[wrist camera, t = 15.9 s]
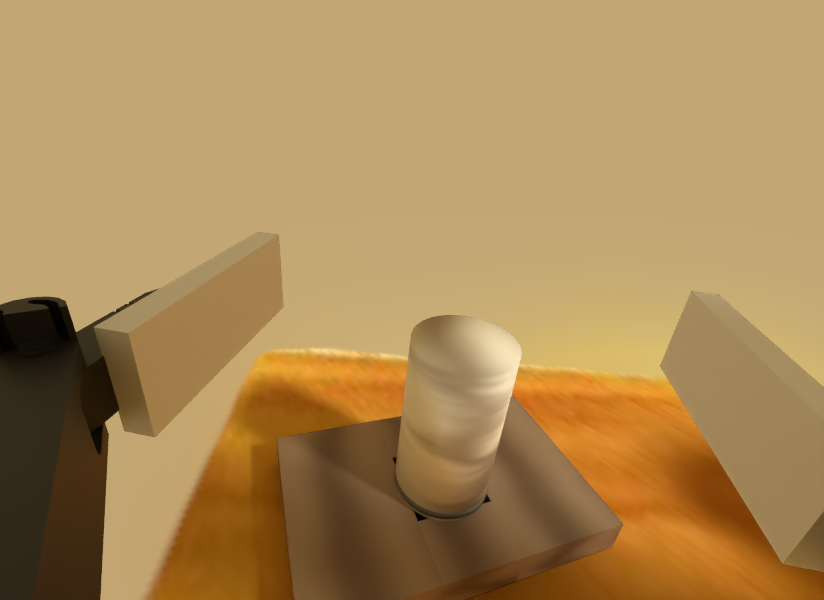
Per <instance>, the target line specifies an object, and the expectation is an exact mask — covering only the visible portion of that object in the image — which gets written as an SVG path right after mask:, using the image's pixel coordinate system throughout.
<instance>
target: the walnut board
mask: <svg viewBox="0 0 824 600" xmlns="http://www.w3.org/2000/svg"><path fill="white" fill-rule="evenodd" d="M401 417H402V416H400V417H395V418H389V419H383V420H378V421H372V422H367V423H361V424H355V425H350V426H344V427H338V428H333V429H327V430H321V431H316V432H310V433H304V434H299V435H293V436H287V437H282V438H277V450H278V465H279V474H280V483H281V492H282V501H283V510H284V519H285V529H286V538H287V547H288V556H289V565H290V574H291V583H292V593H293V600H466V599H469V598H472V597H474V596H477V595H480V594H483V593H485V592H488V591H491V590H494V589H497V588H499V587H502V586H505V585H508V584H510V583H513V582H516V581H519V580H521V579H524V578H527V577H530V576H533V575H535V574H538V573H541V572H544V571H546V570H549V569H552V568H555V567H558V566H560V565H563V564H566V563H569V562H571V561H574V560H577V559H580V558H583V557H585V556H588V555H591V554H594V553H596V552H599V551H602V550H605V549H608V548H610V547H612V546H613V544H614V542H615V540H616V538H617V536H618V534H619V532H620V530H621V528H622V526H623V523H622V522H621V521H620V520H619V518H618V517H617V516H616V515H615V514H614V513H613V511H612V510H611V509H610V508H609V507H608V506H607V504H606V503H605V502H604V501H603V500H602V499H601V497H600V496H599V495H598V494H597V493H596V492H595V490H594V489H593V488H592V487H591V486H590V485H589V483H588V482H587V481H586V480H585V479H584V478H583V476H582V475H581V474H580V473H579V472H578V471H577V469H576V468H575V467H574V466H573V465H572V464H571V462H570V461H569V460H568V459H567V458H566V457H565V455H564V454H563V453H562V452H561V451H560V450H559V448H558V447H557V446H556V445H555V444H554V443H553V441H552V440H551V439H550V438H549V437H548V436H547V434H546V433H545V432H544V431H543V430H542V429H541V427H540V426H539V425H538V424H537V423H536V422H535V420H534V419H533V418H532V417H531V416H530V415H529V413H528V412H527V411H526V410H525V409H524V408H523V406H522V405H521V404H520V403H519V402H518V401H517V399H516V398H515V397H514V396H513V397H511V398H510V402H509V406H508V410H507V414H506V418H505V422H504V425H503V429H502V433H501V437H500V441H499V445H498V449H497V453H496V457H495V460H494V464H493V468H492V472H491V476H490V480H489V486H488V490H487V494H486V497H485V500H484V502H483V503H482V505H481V506H480V508H479V509H478V510H477V511H476V512H474V513H473V514H472V515H470V516H468V517H466V518H463V519H460V520H456V521H439V520H434V519H430V518H429V519H425V520H422V521H418V520H417V518H416V515H415V513H414V510H413V509H411V508H410V507H409V506H408V505H407V504H406V503H405V502H404V501H403V499H402V498H401V496H400V495H399V493H398V491H397V488H396V484H395V478H394V472H395V464H396V460H397V452H398V443H399V434H400V426H401Z"/></svg>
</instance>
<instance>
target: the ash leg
mask: <svg viewBox="0 0 824 600" xmlns="http://www.w3.org/2000/svg"><path fill="white" fill-rule="evenodd" d="M521 354H522V351H521V347H520V345H519V343H518V342H517V341H516V339H515V338H514V337H513V336H512V335H511V334H509V333H508V332H507V331H505V330H504V329H502V328H500V327H499V326H497V325H494V324H492V323H490V322H487V321H484V320H481V319H477V318H473V317H467V316H459V315H458V316H457V315H444V316H437V317H432V318H429V319H426V320H424V321H422V322H420V323H419V324H418V325H416V326H415V328H414V329H413V331H412V334H411V340H410V348H409V357H408V365H407V374H406V383H405V391H404V400H403V408H402V417H401V426H400V434H399V443H398V452H397V460H396V464H395V472H394V478H395V484H396V488H397V491H398V493H399V495H400V496H401V498H402V499H403V501H404V502H405V503H406V504H407V505H408V506H409V507H410V508H411V509H413V510H414V511H415V512H417V513H418V514H419V515H420V516H421V517H422V518H424V519H429V518H430V519H434V520H439V521H456V520H460V519H463V518H466V517H468V516H470V515H472V514H473V513H474V512H476V511H477V510H478V509H479V508H480V506H481V505H482V503H483V502H484V500H485V497H486V494H487V490H488V486H489V480H490V476H491V472H492V468H493V464H494V460H495V457H496V453H497V449H498V445H499V441H500V437H501V433H502V429H503V425H504V422H505V418H506V414H507V410H508V406H509V402H510V398H511V394H512V391H513V387H514V383H515V379H516V375H517V371H518V367H519V363H520V359H521V356H522V355H521Z"/></svg>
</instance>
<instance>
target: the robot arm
mask: <svg viewBox="0 0 824 600" xmlns="http://www.w3.org/2000/svg"><path fill="white" fill-rule="evenodd" d="M282 308H283V292H282V276H281V262H280V244H279V235H278V234H270V233H263V232H256V233H255V234H253V235H251V236H249V237H248V238H246V239H244V240H243V241H241V242H239V243H237V244H236V245H234V246H232V247H231V248H229V249H227V250H225V251H224V252H222V253H220V254H218V255H217V256H215V257H214V258H212V259H210V260H208V261H206V262H205V263H203V264H201V265H200V266H198V267H196V268H194V269H193V270H191V271H189V272H188V273H186V274H184V275H182V276H181V277H179V278H177V279H175V280H174V281H172V282H171V283H169V284H167V285H165V286H164V287H162V288H160V289H157V290H154V291H151V292H147V293H145V294H143V295H142V296H139V297H138V298H136V299H134V300H132V301H131V302H129V304H125V305H124V306H122V307H120V308H118V309H117V310H116V312H111V313H109V314H108V315H106V316H104V317H102V318H101V319H99V320H97V321H95V322H94V323H92V324H90V325H89V326H87V327H85V328H83V329H81V330H80V331H78V332H75V329H74V325H73V322H72V319H71V316H70V313H69V310H68V307H67V304H66V301H64V300H62V299H60V298H55V297H32V298H26V299H20V300H15V301H11V302H8V303H4V304H2V305H0V600H100V594H101V574H102V553H103V535H104V515H105V495H106V476H107V475H106V474H107V455H108V435H109V434H108V431H107V428H106V425H105V421H106V420H108V419H109V418H110V417H111V416H113V415H114V414H115V413H116V412H117V411H119V414H120V418H121V421H122V424H123V428H124V431H127V432H132V433H137V434H142V435H147V436H152V437H156V436H157V435H158V433H160V432H161V430H162V429H164V427H166V425H167V424H168V423H169V422H170V421H171V420H172V419H173V418H174V417H175V416H176V415H177V414H178V413H179V412H180V411H181V410H182V409H183V408H184V407H185V406H186V405H187V404H188V403H189V402H190V401H191V400H192V399H193V398H194V397H195V396H196V395H197V394H198V393H199V392H200V391H201V390H202V389H203V388H204V387H205V386H206V385H207V384H208V383H209V382H210V381H211V380H212V379H213V378H214V377H215V376H216V375H217V374H218V373H219V372H220V371H221V370H222V369H223V368H224V367H225V366H226V365H227V364H228V363H229V362H230V360H231V359H233V358H234V357H235V356H236V355H237V354H238V352H240V351H241V349H242V348H243V347H244V346H245V345H246V344H247V343H248V342H249V341H250V340H251V339H252V338H253V337H254V336H255V335H256V334H257V333H258V332H259V331H260V330H261V329H262V328H263V327H264V326H265V325H266V324H267V323H268V322H269V321H270V320H271V319H272V318H273V317H274V316H275V315H276V314H277V313H278V312H279V311H280V310H281V309H282ZM660 367H661V368H662V370H663V372H664V373H665V375H666V377H667V378H668V380H669V382H670V383H671V385H672V386H673V388H674V390H675V391H676V393H677V394H678V396H679V398H680V399H681V401H682V402H683V404H684V406H685V407H686V409H687V411H688V412H689V414H690V415H691V417H692V419H693V420H694V422H695V423H696V425H697V427H698V428H699V430H700V432H701V433H702V435H703V436H704V438H705V440H706V441H707V443H708V444H709V446H710V448H711V449H712V451H713V452H714V454H715V456H716V457H717V459H718V461H719V462H720V464H721V465H722V467H723V469H724V470H725V472H726V473H727V475H728V477H729V478H730V480H731V482H732V483H733V485H734V486H735V488H736V490H737V491H738V493H739V494H740V496H741V498H742V499H743V501H744V502H745V504H746V506H747V507H748V509H749V511H750V512H751V514H752V515H753V517H754V519H755V520H756V522H757V523H758V525H759V527H760V528H761V530H762V532H763V533H764V535H765V536H766V538H767V540H768V541H769V543H770V544H771V546H772V548H773V549H774V551H775V552H776V554H777V556H778V557H779V559H780V561H781V562H782V564H785V565H790V566H795V567H800V568H805V569H810V570H815V571H820V572H824V387H823V386H822V385H821V384H820V383H818V382H817V381H816V380H815V379H814V378H812V376H810V375H809V374H808V373H807V372H806V371H805V370H803V369H802V368H801V367H800V366H799V365H798V364H797V363H796V362H795V361H793V360H792V359H791V358H790V357H789V356H788V355H787V354H785V353H784V352H783V351H782V350H781V349H780V348H779V347H777V346H776V345H775V344H774V343H773V342H772V341H771V340H770V339H768V338H767V337H766V336H765V335H764V334H762V332H760V331H759V330H758V329H757V328H756V327H755V326H754V325H752V324H751V323H750V322H749V321H748V320H747V319H746V318H744V317H743V316H742V315H741V314H740V313H739V312H738V311H737V310H735V309H734V308H733V307H732V306H731V305H730V304H729V303H727V302H726V301H725V300H724V299H723V298H722V297H721V296H720V295H718V294H711V293H703V292H696V291H691V293H690V295H689V298H688V300H687V303H686V305H685V308H684V310H683V312H682V314H681V317H680V319H679V322H678V324H677V326H676V329H675V331H674V334H673V336H672V338H671V341H670V343H669V346H668V348H667V350H666V353H665V355H664V358H663V360H662V362H661V365H660Z"/></svg>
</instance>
